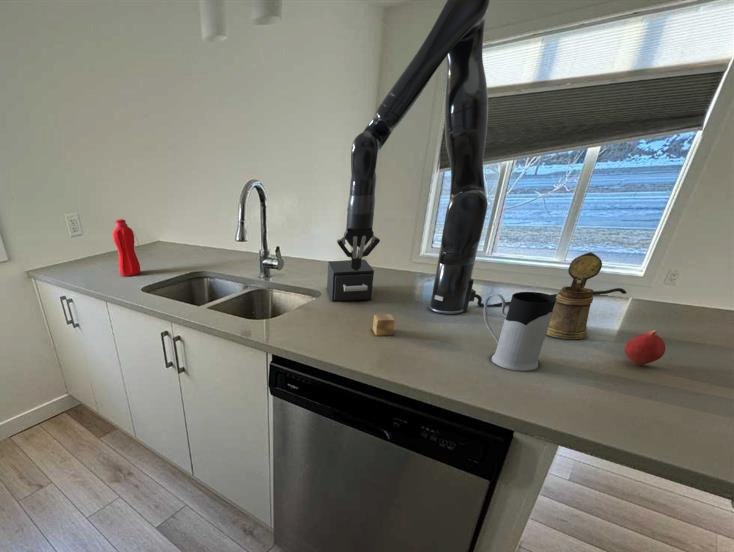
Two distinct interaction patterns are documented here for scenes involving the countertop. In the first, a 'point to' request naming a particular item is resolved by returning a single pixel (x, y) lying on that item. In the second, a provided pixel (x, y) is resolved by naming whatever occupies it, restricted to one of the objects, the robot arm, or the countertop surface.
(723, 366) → the countertop surface
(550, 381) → the countertop surface
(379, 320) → the block
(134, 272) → the water bottle
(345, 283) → the dark grey drawer
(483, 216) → the robot arm
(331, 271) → the small drawer cabinet
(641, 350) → the onion
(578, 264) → the wooden mug
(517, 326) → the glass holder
